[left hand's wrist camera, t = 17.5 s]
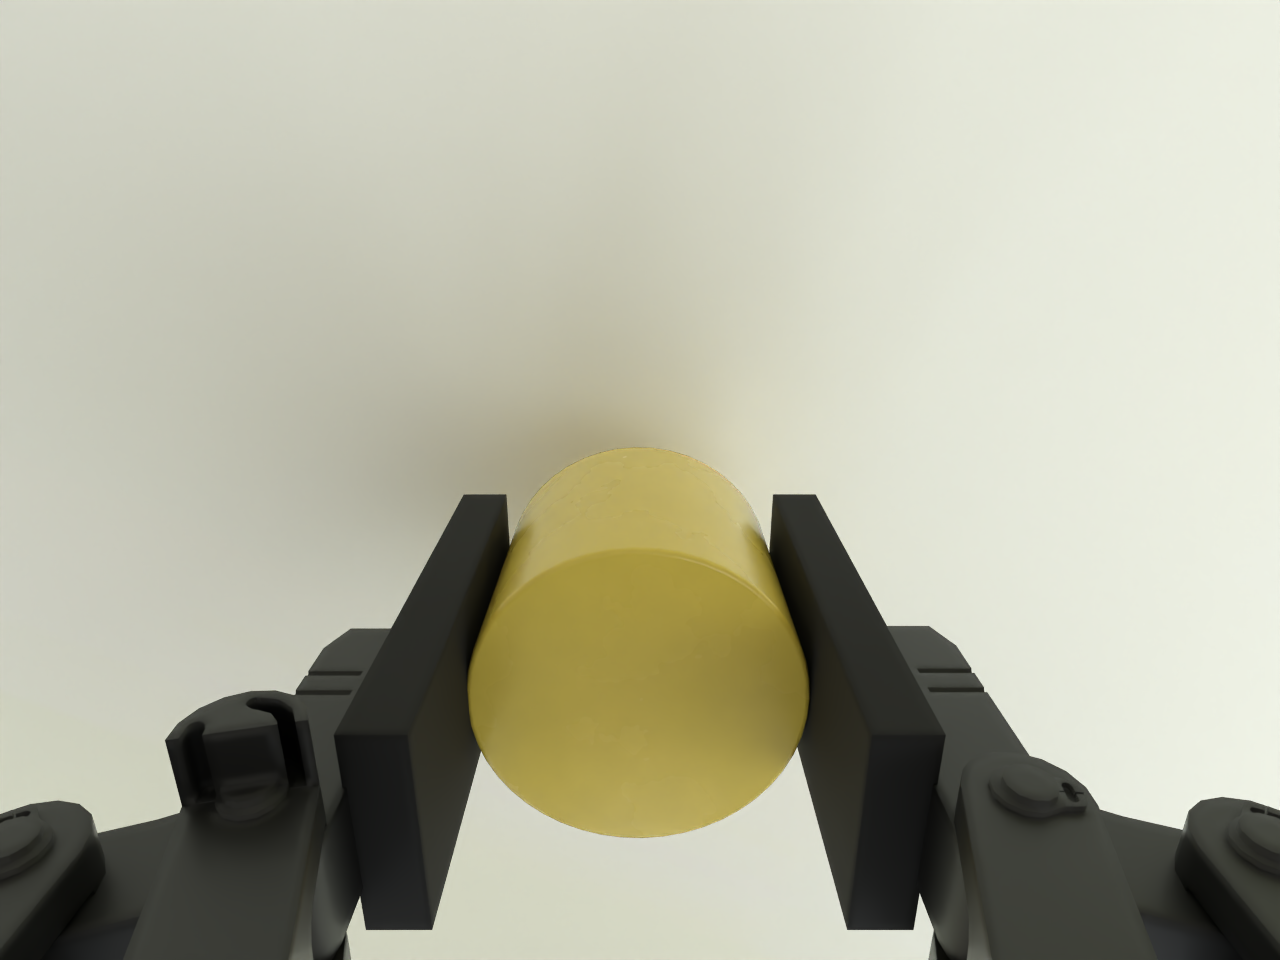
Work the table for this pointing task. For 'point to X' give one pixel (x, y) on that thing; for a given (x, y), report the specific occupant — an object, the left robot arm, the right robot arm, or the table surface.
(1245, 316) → the table surface
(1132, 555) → the table surface
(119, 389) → the table surface
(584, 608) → the cylinder
